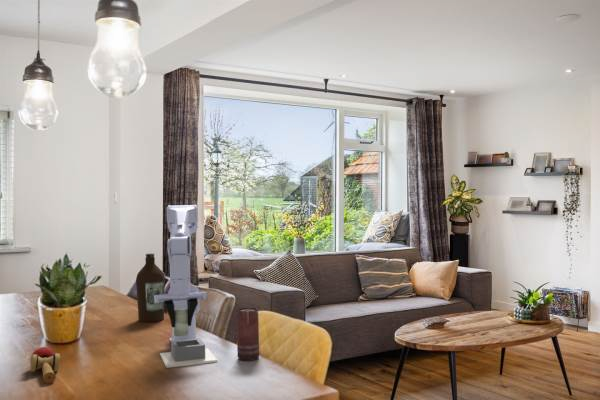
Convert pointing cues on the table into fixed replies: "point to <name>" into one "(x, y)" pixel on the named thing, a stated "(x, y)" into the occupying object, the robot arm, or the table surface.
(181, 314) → the peg
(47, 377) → the kendama
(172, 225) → the robot arm
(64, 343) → the table surface
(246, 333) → the can
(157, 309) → the olive oil
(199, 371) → the table surface
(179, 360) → the socket
